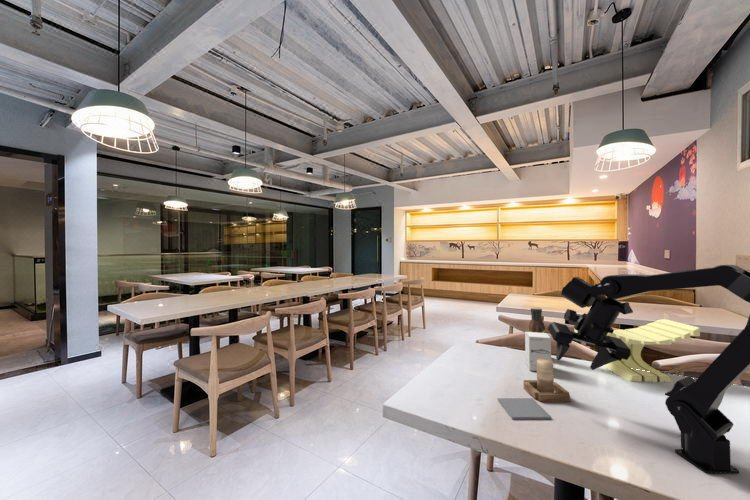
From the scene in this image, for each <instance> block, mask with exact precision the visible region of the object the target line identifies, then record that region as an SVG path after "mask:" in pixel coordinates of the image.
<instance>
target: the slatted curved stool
mask: <svg viewBox="0 0 750 500" xmlns="http://www.w3.org/2000/svg"><path fill="white" fill-rule="evenodd" d="M574 326H575V325H573V330H574V331H573V332H576V333H577V332H578V331H577V330H575V328H574ZM613 330H614V331H613V333H608V334H607V335H606V336H611V337H615V338H619V339H621V340H622V341H623V342H624V343H625V344H626V345H627V346H628V347H629V349H630V350H631V355H630V357H629V358H628V360H625V359H622V360H621V361H619V360H617V361H614V362H611V363H608V364H606V365H604V366H606V367H607V368H609V369H610V370H609V369H608V370H609V371H611V372H612V371H613V372H612V373H613V374H616V375H618V376H619V377H621V378H623V379H625V380H626V381H628V382H638V383H639V382H645V381H646V382H647V381H650V383H658V382H659V381H663V382H662V383H673V381H672V379H671V376H669V375H667V374H665V373H663V372H662V371H659V370H657V369H655V368H654V367H652V366H650V365H649V364H648V363H647V362H645V361H644V360H643V358H642V356H641V355H642V350H643V349H644V347H645V345H646V346H647V345H660V346H661V345H663V346H665V345H666V346H670V345H672V344H673V343H672V342H674V343H682V340H692V339H691V337H701V329H700V327H699V326H695V325H690V324H686V323H682V322H679V321H674V320H672V319H667V318H666V319H665V318H662V319H657V320H654V322H649V323H646V324H645V325H640V326H639V325H638V327H634V328H625V329H613ZM604 366H603V367H604ZM607 368H606V369H607ZM631 368H633V369H631ZM636 369H640V370H636ZM642 370H645V371H642ZM647 371H650V372H647ZM651 381H653V382H651ZM664 381H665V382H664ZM647 383H648V382H647Z"/></svg>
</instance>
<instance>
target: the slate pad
mask: <svg viewBox="0 0 750 500" xmlns="http://www.w3.org/2000/svg"><path fill="white" fill-rule="evenodd" d="M497 402H498V403H499V404H500V405H501V407H502V408H503V409H504V410H505V412H506V414H508V415H509V417H510V418H511V419H512V420H552V416H551V415H550V414H549V413H548V412H547V411H546V410H545V409H544V407H542V406H541V405H540V404H539V403H538V402H537V401H536V399H534V398H533V397H529V398H528V397H524V398H523V397H522V398H521V397H515V398H513V397H511V398H510V397H509V398H507V397H506V398H503V397H501V398H500V397H499V398H498V397H497Z"/></svg>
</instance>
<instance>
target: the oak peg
mask: <svg viewBox="0 0 750 500" xmlns="http://www.w3.org/2000/svg"><path fill="white" fill-rule="evenodd" d="M554 377H555V376H554V361H553V360H552V359H551V360H549V359H544V358H539V359H537V371H536V380H537V389H536V390H538V391H539V392H540V393H545V392H555V391H554V382H555V381H554Z"/></svg>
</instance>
